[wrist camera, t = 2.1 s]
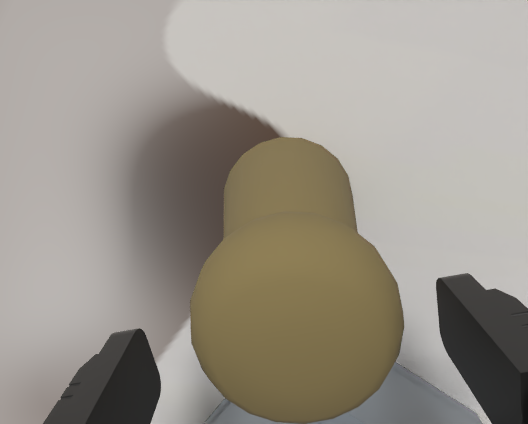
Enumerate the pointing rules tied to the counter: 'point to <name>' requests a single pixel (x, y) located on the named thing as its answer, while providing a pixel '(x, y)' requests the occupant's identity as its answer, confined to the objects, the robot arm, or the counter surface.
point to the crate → (379, 406)
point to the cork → (294, 291)
